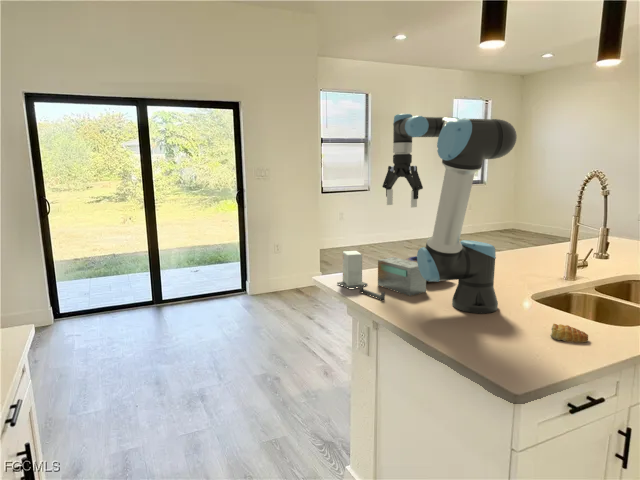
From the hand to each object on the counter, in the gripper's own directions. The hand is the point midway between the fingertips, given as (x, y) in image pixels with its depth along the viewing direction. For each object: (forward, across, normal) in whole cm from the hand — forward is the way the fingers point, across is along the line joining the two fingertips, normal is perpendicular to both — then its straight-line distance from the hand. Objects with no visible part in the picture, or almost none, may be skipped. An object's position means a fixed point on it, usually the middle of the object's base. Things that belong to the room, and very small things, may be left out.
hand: (401, 206), depth 175 cm
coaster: (+33, +9, +19) cm, 39 cm away
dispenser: (+33, -7, +13) cm, 36 cm away
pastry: (+33, -70, +5) cm, 78 cm away
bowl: (+33, -4, -12) cm, 35 cm away
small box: (+32, +9, +19) cm, 38 cm away
